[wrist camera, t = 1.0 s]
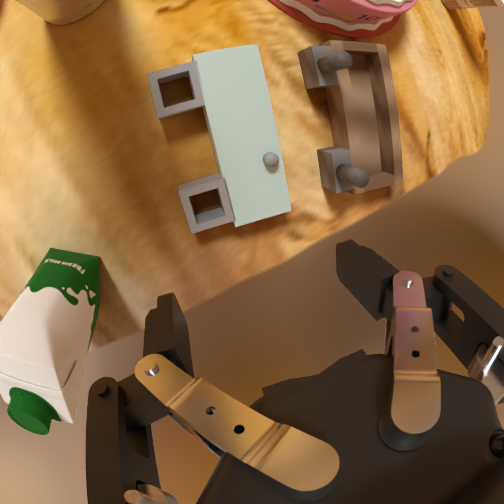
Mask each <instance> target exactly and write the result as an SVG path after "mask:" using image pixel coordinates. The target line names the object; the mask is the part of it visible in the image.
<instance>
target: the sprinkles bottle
mask: <svg viewBox="0 0 504 504" xmlns="http://www.w3.org/2000/svg"><path fill="white" fill-rule="evenodd" d="M442 2H443V3H444V5H445V6H446V7H447V8H448V9H450V10H455V9H462V8H474V7H486V6H499V7H504V0H442Z"/></svg>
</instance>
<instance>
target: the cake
mask: <svg viewBox="0 0 504 504" xmlns="http://www.w3.org/2000/svg"><path fill="white" fill-rule="evenodd" d="M268 1H269V2H271V3H272V4H273V5H275V6H276V7H278V8H279V9H280V10H282V11H284V12H285V13H287V14H288V15H290V16H292V17H293V18H295V19H297V20H299V21H301V22H303V23H305V24H307V25H309V26H312V27H314V28H316V29H319V30H322V31H324V32H327V33H331V34H334V35H338V36H343V37H350V38H369V37H375V36H378V35H381V34H383V33H385V32H387V31H388V30H390V29H391V28H392V27H393V26H394V25H395V24H396V23H397V21H398V19H399V17H400V15H401V13H404V12H406V11H408V10H410V9H411V8H412V7H413V6H414V5H415V4H416V2H417V1H418V0H268Z"/></svg>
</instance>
